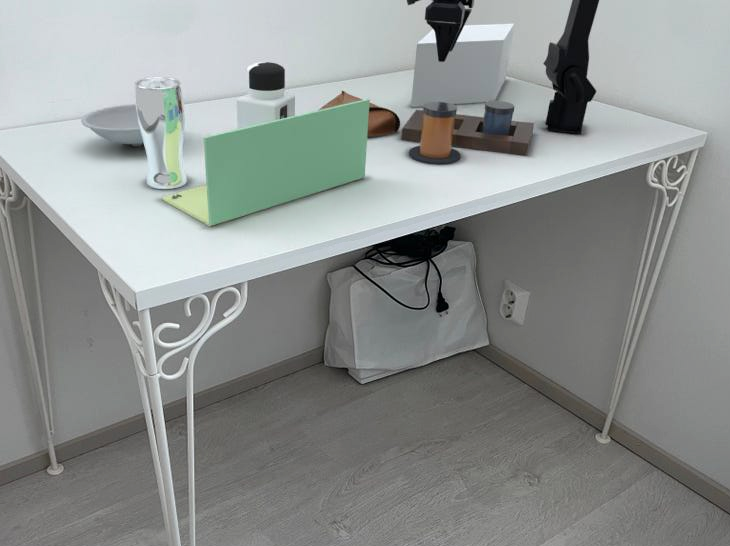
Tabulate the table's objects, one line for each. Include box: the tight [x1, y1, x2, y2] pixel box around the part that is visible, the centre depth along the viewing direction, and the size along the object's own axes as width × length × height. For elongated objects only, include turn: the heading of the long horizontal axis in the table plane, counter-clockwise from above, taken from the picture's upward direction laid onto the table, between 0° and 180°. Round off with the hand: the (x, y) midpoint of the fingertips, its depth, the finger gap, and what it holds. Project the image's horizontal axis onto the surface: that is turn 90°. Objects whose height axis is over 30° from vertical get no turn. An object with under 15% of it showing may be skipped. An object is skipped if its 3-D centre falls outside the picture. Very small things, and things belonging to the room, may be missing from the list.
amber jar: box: [419, 102, 458, 158], centre depth 128 cm, size 6×6×8 cm
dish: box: [80, 103, 143, 147], centre depth 129 cm, size 18×14×5 cm
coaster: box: [408, 145, 462, 165], centre depth 130 cm, size 9×9×1 cm
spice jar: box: [482, 100, 516, 136], centre depth 136 cm, size 5×5×6 cm
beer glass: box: [134, 76, 188, 190], centre depth 112 cm, size 7×7×15 cm
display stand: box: [161, 98, 370, 227], centre depth 112 cm, size 30×12×12 cm, turn 132°
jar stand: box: [400, 109, 535, 156], centre depth 138 cm, size 23×13×2 cm, turn 72°
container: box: [236, 61, 296, 129], centre depth 131 cm, size 8×8×13 cm
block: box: [410, 23, 515, 108], centre depth 161 cm, size 18×35×12 cm, turn 135°
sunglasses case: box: [316, 90, 401, 138], centre depth 143 cm, size 18×7×7 cm, turn 36°
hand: (445, 56), depth 137 cm, fingers open, 9 cm apart
